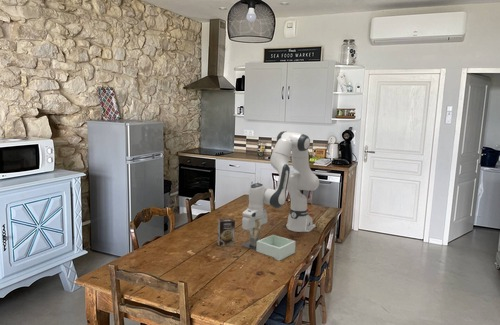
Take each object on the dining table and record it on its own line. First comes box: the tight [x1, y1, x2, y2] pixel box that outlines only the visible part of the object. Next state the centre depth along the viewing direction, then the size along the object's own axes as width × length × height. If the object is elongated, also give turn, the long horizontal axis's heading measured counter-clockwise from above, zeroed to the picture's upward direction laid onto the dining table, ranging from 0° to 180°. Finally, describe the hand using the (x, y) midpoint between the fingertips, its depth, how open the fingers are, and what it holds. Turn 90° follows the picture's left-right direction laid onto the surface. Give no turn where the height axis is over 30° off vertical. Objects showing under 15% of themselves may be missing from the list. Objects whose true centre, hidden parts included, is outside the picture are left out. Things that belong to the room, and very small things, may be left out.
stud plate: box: [240, 241, 256, 251], centre depth 224 cm, size 12×12×5 cm
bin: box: [255, 234, 296, 261], centre depth 215 cm, size 16×16×7 cm
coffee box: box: [217, 217, 236, 247], centre depth 223 cm, size 9×6×16 cm
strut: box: [248, 219, 261, 247], centre depth 223 cm, size 4×4×16 cm
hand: (254, 233), depth 223 cm, fingers closed on strut, 4 cm apart
